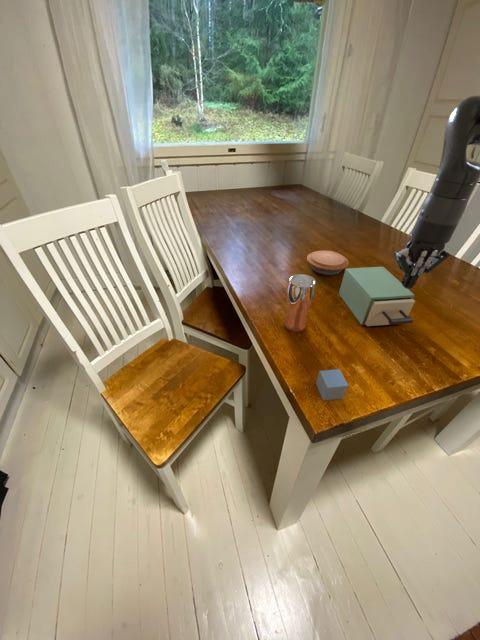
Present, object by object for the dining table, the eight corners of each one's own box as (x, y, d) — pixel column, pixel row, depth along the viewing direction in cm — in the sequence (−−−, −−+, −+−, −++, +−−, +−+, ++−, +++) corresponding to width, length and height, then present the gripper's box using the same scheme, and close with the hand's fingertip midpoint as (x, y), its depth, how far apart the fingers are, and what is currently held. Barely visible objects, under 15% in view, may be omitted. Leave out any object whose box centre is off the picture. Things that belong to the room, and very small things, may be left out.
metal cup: (279, 319, 81) (284, 275, 72) (300, 316, 82) (308, 272, 73) (288, 334, 76) (295, 289, 66) (311, 330, 77) (321, 285, 68)
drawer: (414, 334, 75) (427, 312, 70) (375, 337, 74) (385, 315, 69) (376, 294, 91) (384, 273, 86) (344, 296, 90) (350, 275, 85)
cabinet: (401, 322, 81) (414, 295, 75) (361, 325, 79) (371, 297, 73) (373, 291, 93) (383, 266, 87) (338, 293, 92) (345, 268, 86)
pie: (348, 280, 99) (351, 267, 96) (305, 275, 102) (307, 263, 98) (344, 261, 111) (347, 249, 108) (305, 257, 113) (307, 246, 110)
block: (343, 398, 60) (348, 385, 57) (322, 400, 59) (327, 387, 56) (334, 382, 63) (339, 368, 60) (315, 383, 63) (319, 370, 60)
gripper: (421, 224, 54) (390, 296, 65) (481, 222, 56) (441, 293, 66) (399, 212, 60) (374, 280, 71) (454, 210, 61) (421, 277, 72)
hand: (406, 286), depth 69 cm, fingers closed
